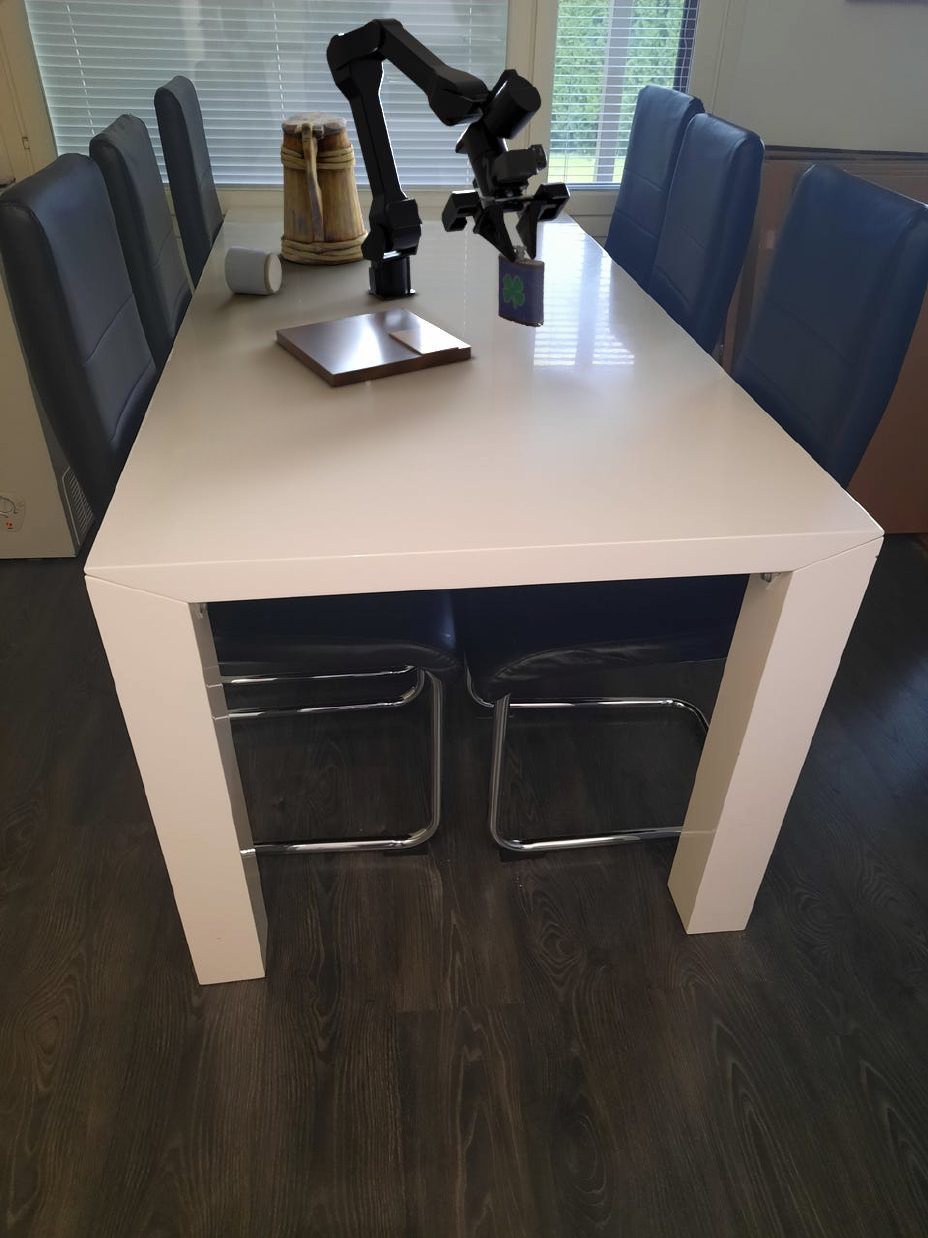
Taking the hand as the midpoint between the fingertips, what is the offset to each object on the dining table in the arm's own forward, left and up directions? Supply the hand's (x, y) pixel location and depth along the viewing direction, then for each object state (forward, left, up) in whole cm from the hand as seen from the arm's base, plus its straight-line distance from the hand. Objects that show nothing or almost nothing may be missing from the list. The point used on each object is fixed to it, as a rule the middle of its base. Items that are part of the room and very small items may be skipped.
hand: (523, 259), depth 124 cm
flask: (0, -1, -9) cm, 9 cm away
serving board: (+20, -10, -12) cm, 26 cm away
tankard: (+4, -65, -13) cm, 67 cm away
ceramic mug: (+24, -49, -13) cm, 56 cm away
